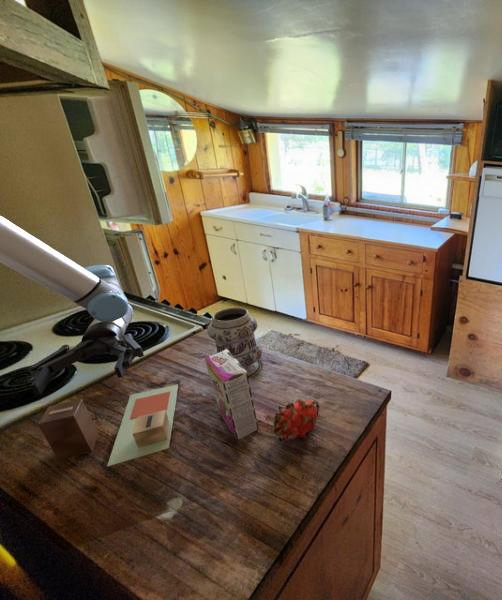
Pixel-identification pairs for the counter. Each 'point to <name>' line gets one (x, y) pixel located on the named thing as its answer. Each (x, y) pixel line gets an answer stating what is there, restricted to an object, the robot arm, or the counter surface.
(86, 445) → the brown rectangular block
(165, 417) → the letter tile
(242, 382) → the candy bar box
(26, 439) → the counter surface
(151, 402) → the word mat
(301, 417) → the dragon fruit
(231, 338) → the apothecary jar
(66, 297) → the robot arm
